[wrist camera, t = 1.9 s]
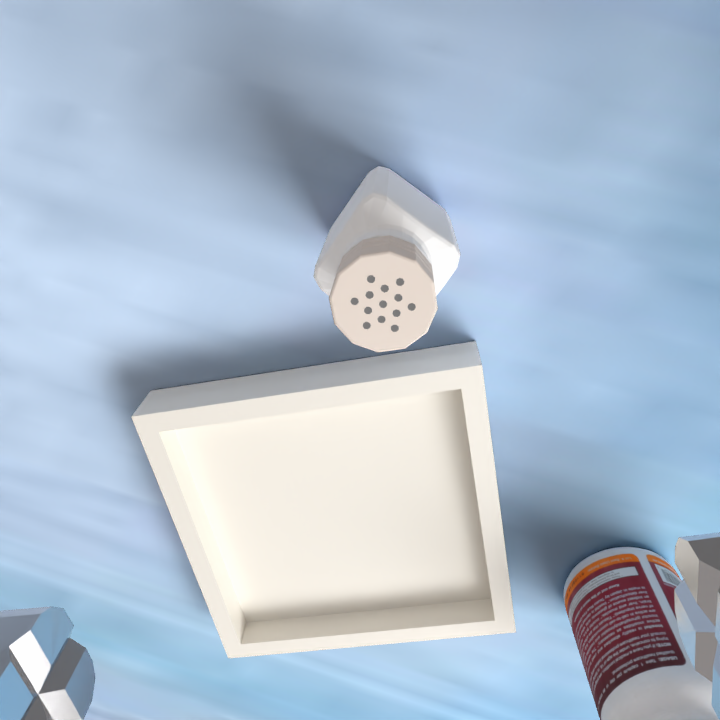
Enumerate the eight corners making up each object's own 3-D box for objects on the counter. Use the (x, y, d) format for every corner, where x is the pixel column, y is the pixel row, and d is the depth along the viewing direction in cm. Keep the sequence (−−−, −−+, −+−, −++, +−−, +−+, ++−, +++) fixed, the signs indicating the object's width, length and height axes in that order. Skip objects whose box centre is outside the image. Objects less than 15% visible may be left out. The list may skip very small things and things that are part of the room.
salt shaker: (398, 287, 28) (397, 388, 20) (324, 235, 28) (289, 318, 19) (455, 214, 27) (480, 289, 18) (377, 157, 26) (366, 208, 17)
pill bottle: (551, 620, 37) (607, 831, 27) (572, 536, 34) (644, 736, 24) (660, 629, 36) (757, 845, 27) (690, 546, 34) (811, 751, 24)
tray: (475, 341, 29) (481, 365, 27) (508, 596, 36) (516, 632, 34) (150, 390, 31) (131, 416, 29) (238, 622, 38) (228, 658, 36)
